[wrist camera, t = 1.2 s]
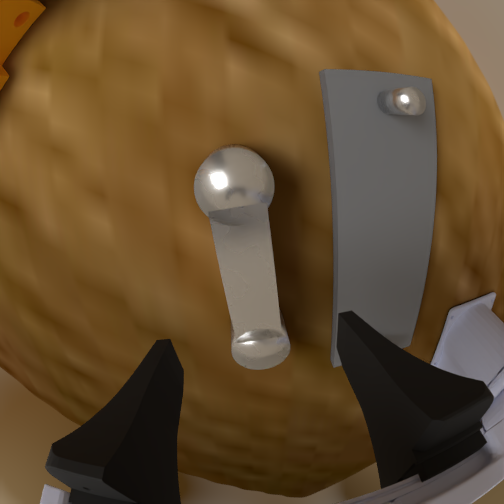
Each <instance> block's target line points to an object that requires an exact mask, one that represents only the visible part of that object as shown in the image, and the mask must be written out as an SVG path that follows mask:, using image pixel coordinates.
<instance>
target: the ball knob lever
mask: <svg viewBox="0 0 504 504" xmlns="http://www.w3.org/2000/svg"><path fill="white" fill-rule="evenodd" d="M274 188H275V186H274V178H273V175H272V172H271V170H270V168H269V166H268V165H267V163H266V162H265V161H264V160H263V159H262V158H261V157H260V156H259V155H258V154H257V153H256V152H255V151H253V150H252V149H250V148H248V147H246V146H243V145H238V144H230V145H225V146H222V147H219V148H218V149H216V150H214V151H213V152H212V153H211V154H210V155H209V156H208V157H207V158H206V159H205V161H204V162H203V163H202V165H201V166H200V168H199V170H198V172H197V174H196V177H195V182H194V192H195V197H196V201H197V203H198V205H199V207H200V208H201V210H202V211H203V212H204V213H205V214H206V215H207V216H208V217H209V219H210V224H211V229H212V233H213V238H214V243H215V248H216V253H217V258H218V262H219V267H220V272H221V276H222V281H223V285H224V290H225V294H226V299H227V303H228V308H229V312H230V316H231V346H232V356H233V358H234V360H235V361H236V362H237V363H238V364H240V365H241V366H243V367H246V368H249V369H256V370H260V369H267V368H271V367H274V366H276V365H278V364H279V363H281V362H282V361H283V360H284V359H285V358H286V357H287V356H288V354H289V352H290V342H289V338H288V334H287V330H286V327H285V323H284V319H283V315H282V312H281V311H280V309H279V303H278V293H277V284H276V275H275V266H274V258H273V249H272V241H271V232H270V224H269V216H268V207H269V205H270V203H271V201H272V199H273V195H274Z"/></svg>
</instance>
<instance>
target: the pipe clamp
mask: <svg viewBox="0 0 504 504" xmlns="http://www.w3.org/2000/svg"><path fill="white" fill-rule="evenodd" d="M45 9H46V7H45V6H44V5H43V4H42V3H41V2H40V1H39V0H0V91H1V89H2V88H3V86H4V84H5V83H6V81H7V79H8V78H9V75H8V73H7V72H6V71H5V69H4V68H3V66H2V65H3V63H4V62H5V60H6V59H7V57H8V56H9V54H10V53H11V51H12V50H13V49H14V47H15V46H16V44H17V43H18V42H19V40H20V39H21V38H22V36H23V35H24V34H25V33H26V31H27V30H28V29H29V28H30V26H31V25H32V24H33V23H34V21H35V20H36V19H37V18H38V17H39V16H40V14H41V13H42V12H43V11H44V10H45Z"/></svg>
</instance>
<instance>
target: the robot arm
mask: <svg viewBox="0 0 504 504" xmlns="http://www.w3.org/2000/svg"><path fill="white" fill-rule="evenodd" d="M495 297H496V294H495V293H494V292H492V293H490V294H487V295H485V296H482V297H480V298H477V299H475V300H472V301H470V302H467V303H464V304H462V305H459V306H456V307H454V308H452V309H450V311H449V313H448V316H447V320H446V323H445V326H444V329H443V332H442V335H441V338H440V341H439V343H438V346H437V349H436V351H435V354H434V357H433V359H432V362H431V364H428V363H426V362H424V361H422V360H420V359H418V358H417V357H415V356H413V355H411V354H409V353H408V352H406V351H404V350H403V349H401V348H400V347H398V346H397V345H395V344H394V343H392V342H391V341H390V340H388V339H387V338H386V337H384V336H383V335H382V334H380V333H379V332H378V331H376V330H375V329H374V328H373V327H371V326H370V325H369V324H368V323H367V322H365V321H364V320H363V319H362V318H360V317H359V316H358V315H357V314H356V313H354V312H353V311H352V310H351V311H346V312H342V313H338V330H337V345H336V348H337V351H338V354H339V357H340V360H341V364H342V367H343V369H344V371H345V373H346V375H347V378H348V380H349V382H350V384H351V386H352V388H353V390H354V393H355V395H356V397H357V399H358V401H359V404H360V406H361V408H362V411H363V414H364V417H365V420H366V423H367V427H368V430H369V434H370V437H371V441H372V445H373V449H374V453H375V458H376V462H377V467H378V473H379V478H380V485H381V489H380V490H377V491H375V492H372V493H368V494H366V495H362V496H359V497H356V498H353V499H349V500H346V501H342V502H338V503H334V504H389V503H390V504H472V503H473V502H474V501H476V500H477V499H479V498H480V497H482V496H483V495H484V494H486V493H487V492H488V491H489V490H491V489H492V488H493V487H495V486H496V485H497V484H498V483H499V482H501V481H502V480H503V479H504V323H503V322H502V321H501V320H500V319H499V318H498V317H497V316H496V315H495V314H494V313H493V312H492V311H491V309H492V306H493V303H494V300H495ZM183 383H184V370H183V368H182V366H181V363H180V361H179V359H178V357H177V354H176V352H175V350H174V347H173V345H172V342H171V340H170V339H164V340H157V341H156V342H155V344H154V345H153V346H152V348H151V349H150V351H149V352H148V354H147V355H146V356H145V358H144V359H143V361H142V362H141V364H140V365H139V366H138V368H137V369H136V370H135V372H134V373H133V375H132V376H131V377H130V378H129V380H128V381H127V382H126V383H125V385H124V386H123V387H122V388H121V390H120V391H119V392H118V393H117V394H116V395H115V396H114V397H113V399H112V400H111V401H110V402H109V403H108V404H107V405H106V406H105V407H104V408H102V409H101V410H100V411H99V412H98V413H97V414H96V415H94V416H93V417H92V418H91V419H90V420H89V421H87V422H86V423H85V424H83V425H82V426H81V427H79V428H78V429H76V430H75V431H73V432H72V433H70V434H69V435H67V436H65V437H64V438H62V439H60V440H58V441H57V442H55V443H53V444H52V446H51V450H50V453H49V456H48V459H47V462H46V466H45V468H46V470H47V471H48V472H49V473H50V474H51V475H52V476H54V477H55V478H57V479H58V480H60V481H61V482H63V483H64V484H66V485H67V486H69V487H70V488H71V493H69V492H66V491H64V490H62V489H59V488H56V487H53V486H50V485H48V484H45V485H44V490H43V493H42V498H41V502H40V504H181V502H180V494H179V484H178V469H177V433H178V425H179V418H180V411H181V404H182V397H183Z"/></svg>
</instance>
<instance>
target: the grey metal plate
mask: <svg viewBox="0 0 504 504" xmlns="http://www.w3.org/2000/svg"><path fill="white" fill-rule="evenodd" d="M319 75H320V81H321V88H322V96H323V104H324V112H325V120H326V130H327V140H328V151H329V163H330V176H331V193H332V214H333V254H334V283H333V323H332V343H331V362H332V365H333V367H337V366H341V365H342V364H341V360H340V357H339V354H338V351H337V348H336V345H337V330H338V313H342V312H346V311H351V310H352V311H353V312H354V313H356V314H357V315H358V316H359V317H360V318H362V319H363V320H364V321H365V322H367V323H368V324H369V325H370V326H371V327H373V328H374V329H375V330H376V331H378V332H379V333H380V334H382V335H383V336H384V337H386V338H387V339H388V340H390V341H391V342H392V343H394V344H395V345H397V346H398V347H400V348H405V347H408V346H410V343H411V340H412V336H413V333H414V329H415V325H416V321H417V317H418V313H419V309H420V304H421V300H422V295H423V290H424V285H425V280H426V275H427V269H428V263H429V256H430V250H431V242H432V234H433V225H434V214H435V201H436V180H437V140H436V120H435V107H434V96H433V88H432V80H431V79H429V78H423V77H417V76H410V75H403V74H395V73H386V72H375V71H361V70H337V69H324V70H322V71H320V72H319Z"/></svg>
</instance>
